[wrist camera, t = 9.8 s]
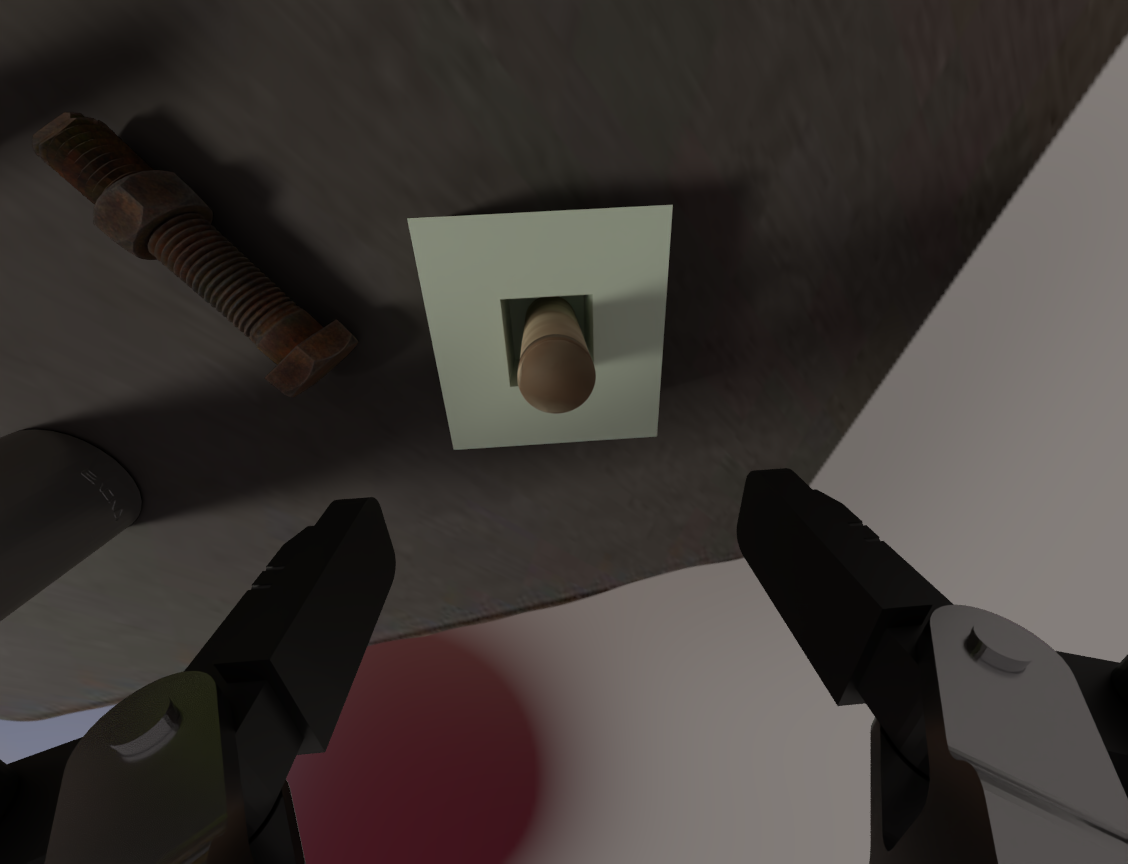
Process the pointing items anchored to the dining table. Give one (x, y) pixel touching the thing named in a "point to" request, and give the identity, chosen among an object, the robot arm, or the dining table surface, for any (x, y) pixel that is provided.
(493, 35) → the dining table surface
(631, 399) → the socket block
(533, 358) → the peg
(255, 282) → the bolt
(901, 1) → the dining table surface
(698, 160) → the dining table surface
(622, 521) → the dining table surface
